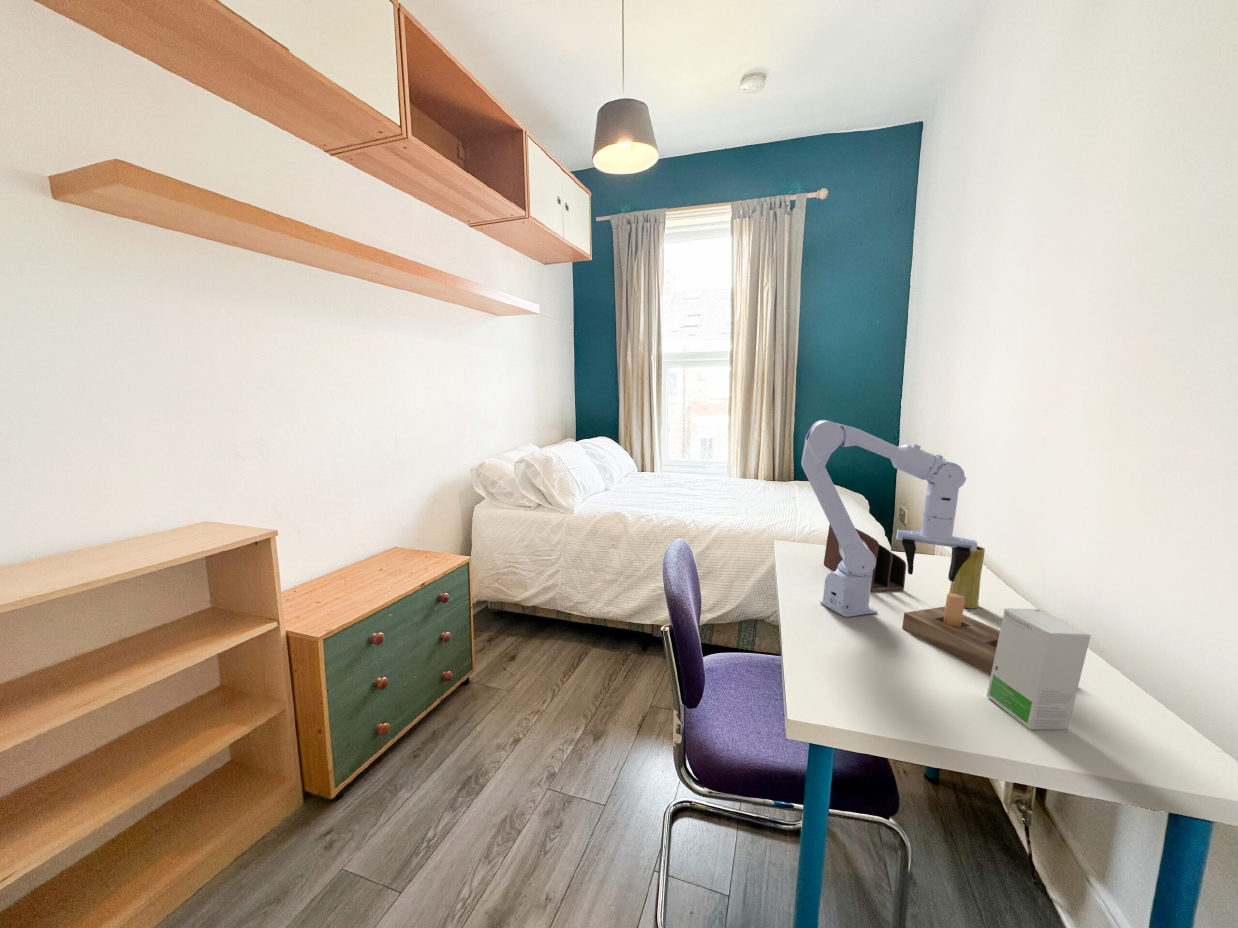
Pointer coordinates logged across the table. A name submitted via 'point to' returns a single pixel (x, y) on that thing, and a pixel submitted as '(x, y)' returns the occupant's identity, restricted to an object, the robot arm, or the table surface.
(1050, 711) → the skincare box
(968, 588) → the vase
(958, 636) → the hole block
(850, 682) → the table surface
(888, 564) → the letter holder
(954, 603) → the peg
